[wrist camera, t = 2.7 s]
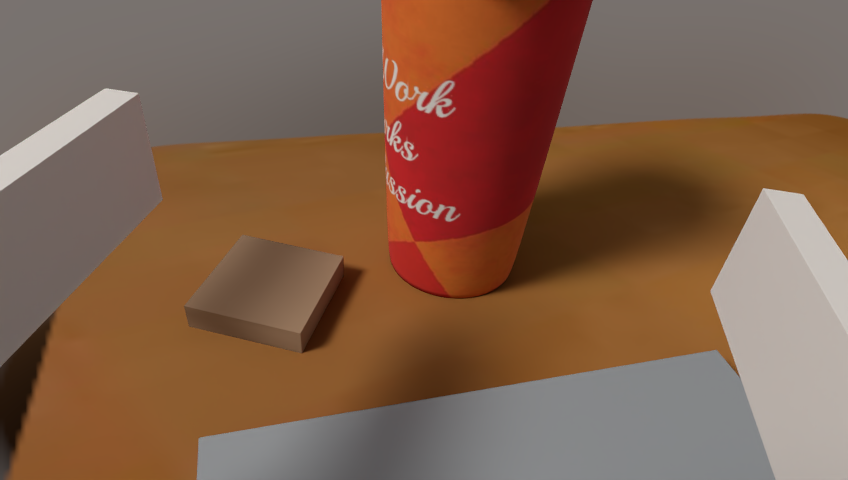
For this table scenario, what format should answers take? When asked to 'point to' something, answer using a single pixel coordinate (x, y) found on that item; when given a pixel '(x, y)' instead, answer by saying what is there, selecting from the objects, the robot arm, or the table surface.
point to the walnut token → (267, 293)
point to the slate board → (523, 433)
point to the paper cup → (469, 131)
